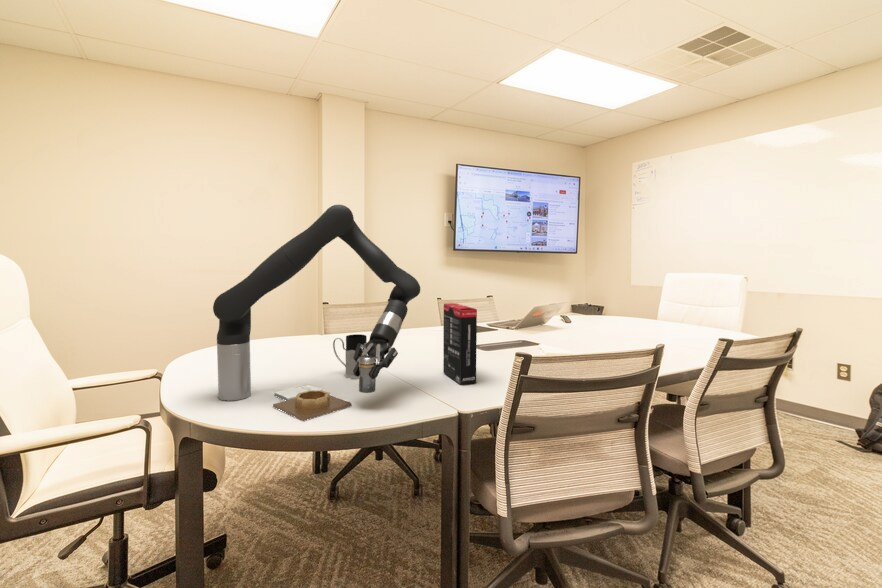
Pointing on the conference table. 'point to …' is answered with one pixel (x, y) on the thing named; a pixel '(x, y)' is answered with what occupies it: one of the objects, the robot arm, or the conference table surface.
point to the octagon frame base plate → (312, 404)
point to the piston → (366, 374)
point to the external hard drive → (294, 392)
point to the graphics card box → (460, 343)
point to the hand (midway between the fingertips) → (363, 376)
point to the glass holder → (351, 352)
